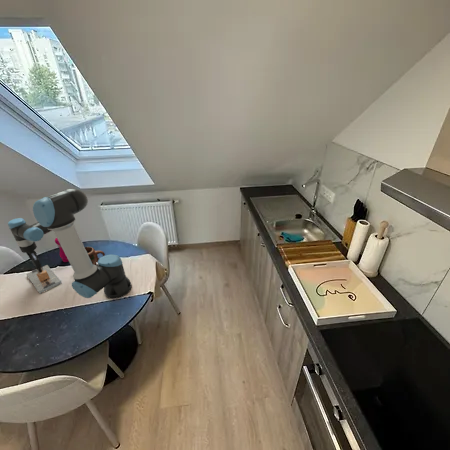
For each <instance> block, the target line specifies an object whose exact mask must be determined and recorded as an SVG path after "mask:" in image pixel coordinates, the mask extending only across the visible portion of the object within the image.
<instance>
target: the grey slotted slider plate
mask: <svg viewBox="0 0 450 450" xmlns="http://www.w3.org/2000/svg"><path fill="white" fill-rule="evenodd" d="M42 269H43V271H45V270H46V271H47V273H48V275H49V277H50V278H48V279H46V280H44V281H42V282H40V281H39V279H38V277H37V275H36V274H38V272H37V270H36V269H35V268H34V269H33V270H31V271H30V272H27V273H26V274H25V275H26V277H27V278H28V279H29V281H30V282H31V284H32V283H33V284H32V285H33V287H34V286H35V287H34V289H35V290H36V291H37V292H38V293H39V295H41V294H43V293H45V292H47V291H49V290H51V289H54V288H55V287H57V286H59V285H61V284H62V280H61V279H60V278H59V277H58V276H57V274H56V273H55V272H54V270H52V269H51V268H50V266H49V265H48V264H46V265H44V266H42ZM46 290H47V291H46ZM44 291H45V292H44ZM42 292H43V293H42Z"/></svg>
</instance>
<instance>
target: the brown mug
mask: <svg viewBox="0 0 450 450" xmlns="http://www.w3.org/2000/svg"><path fill="white" fill-rule="evenodd" d="M84 247H85V249H86V251H87V254H88V256H89V258H90V260H91V262H92V264H93V265H96V266H97V265H98V260H99V258H100V257H99V256H98V254H100V255H102V256H101V257H103V256H105V254H106V253H105V251H102V250H95V249H94V248H93V247H92V246H84Z"/></svg>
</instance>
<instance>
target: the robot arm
mask: <svg viewBox="0 0 450 450" xmlns="http://www.w3.org/2000/svg"><path fill="white" fill-rule="evenodd" d="M88 200H89V199H88V197H87V195H86V194H85V193H84V192H83V191H82V190H79V189H77V188H68V189H67V188H66V189H64V190H61V191H58V192H56V193H53V194H51V195H47V196H44V197H42V198H40V199H38V200H36V201H35V202H34V203H33V206H32V214H33V216H34V218H35V220H36V221H37V222H35V223H33V224H31V225H29V224H28V223H27V222H26V220H25V219H24V218H22V217H19V218H17V217H16V218H13V219H10V221H8V222H7V226H8V228H9V230H10V233H11V234H12V236H13V238H14V240H15V242H16V244H17V245H18V247H19V249H20V252H22V253H23V254H26V255H27V256H28V258H29V260H30V261H31V262H32V265H33V266H34V270H35V269H36V270H37V272H38V273H40V272H42V271H43V269H42V267H43V266H42V263H41V262H40V260H39V258H38V255H37V252H36V249H37V248H38V247H37V243H36V242H39V241H41V240H42V239H43V238H44V235H47V234H49V233H50V232H53V233H54V235H55V237H56V238H57V239H58V241H59V243H60V245H61V247H62V249H63V251H64V253H65V255H66V256H67V258H68V260H69V262H68V263H69V264H70V266H71V268H72V270H73V272H74V273H73V274H72V278H73V279H74V281H72V282H71V287H72V288H73V290H74V291H75V293H77V294H78V295H79V296H81V297H83V298H84V299H90V298H92V297H93V296H95V295H97V294H98V293H99V292H100V291H101V290H102V289H103V292H104V296H105V297H106V298H108V299H113V300H114V299H119V298H122V297H124V296H126V295H127V294H128V293H130V291H131V290H132V288H133V287H132V282H131V280H130V279H129V277H127V275H126V272H125V268H124V265H123V261H122V259H121V257H120V256H119V255H117V254H106V255H105V256H103V255H102V256H103V257H102V256H100V257H98V258H99V260H98V263H97V266H96V265H93V264H92V262H91V260H90V258H89V256H88V254H87V251H86V249H85V247H86V246H85V245H84V243H83V240H82V238H81V236H80V234H79V232H78V230H77V228H76V226H75V222H76V218H75V216H74V215H75V214H77V213H79V212H81V211H83V210H84V209H85V208H87V206H88V204H89V203H88V202H89V201H88Z"/></svg>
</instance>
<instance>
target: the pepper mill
mask: <svg viewBox="0 0 450 450" xmlns="http://www.w3.org/2000/svg"><path fill="white" fill-rule="evenodd" d="M54 242H55V244H56V245H57V247H58V248H59V257H60V258H61V260H62V262H64V263H70V262H69V260H68V258H67V256H66V255H65V253H64V251H63V249H62V247H61V245H60V243H59V241H58V239H57V237H56V238H55V239H54Z"/></svg>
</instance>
